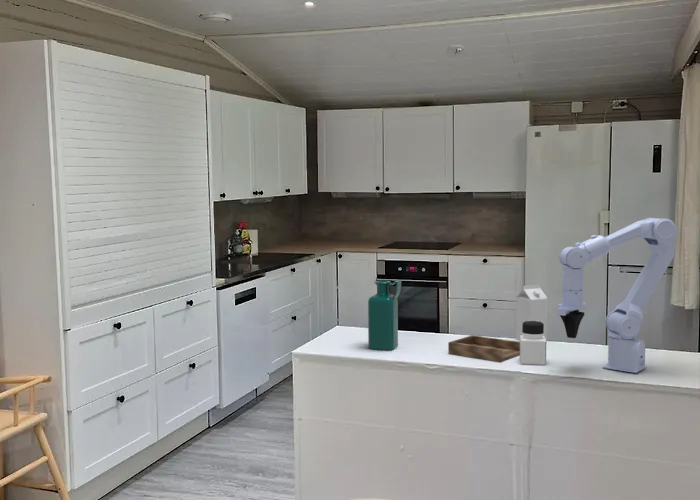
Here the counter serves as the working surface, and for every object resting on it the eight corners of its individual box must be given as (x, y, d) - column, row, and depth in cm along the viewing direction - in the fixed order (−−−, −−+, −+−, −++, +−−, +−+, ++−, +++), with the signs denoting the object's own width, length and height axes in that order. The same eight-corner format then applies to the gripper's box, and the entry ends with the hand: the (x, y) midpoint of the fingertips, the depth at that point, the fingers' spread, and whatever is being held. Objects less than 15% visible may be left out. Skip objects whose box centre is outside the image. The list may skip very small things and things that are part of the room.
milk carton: (515, 341, 235) (516, 285, 234) (532, 339, 238) (532, 283, 237) (530, 345, 229) (530, 287, 227) (547, 343, 232) (547, 285, 231)
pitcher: (366, 350, 224) (366, 281, 223) (374, 344, 232) (373, 278, 231) (396, 351, 221) (396, 282, 220) (403, 346, 229) (402, 279, 228)
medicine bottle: (546, 365, 202) (546, 324, 201) (520, 364, 203) (520, 323, 202) (544, 359, 209) (544, 319, 208) (519, 358, 210) (520, 319, 209)
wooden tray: (523, 353, 217) (523, 342, 216) (500, 362, 206) (500, 350, 206) (472, 346, 228) (472, 335, 228) (448, 353, 218) (448, 342, 217)
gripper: (569, 286, 206) (568, 331, 207) (547, 291, 195) (547, 339, 196) (593, 287, 201) (592, 334, 202) (572, 293, 190) (571, 343, 191)
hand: (571, 337), depth 199 cm, fingers closed
